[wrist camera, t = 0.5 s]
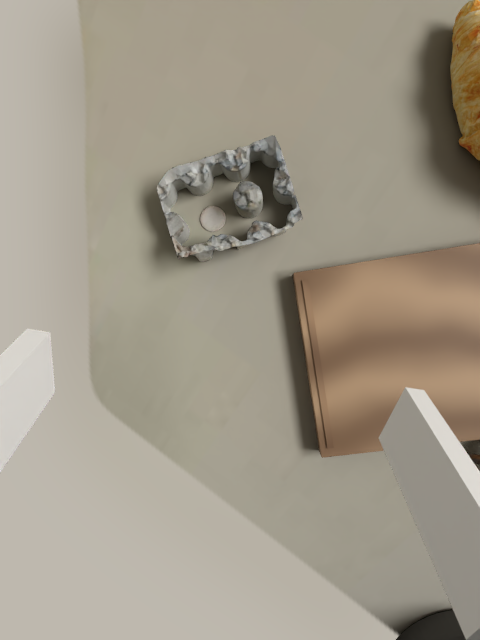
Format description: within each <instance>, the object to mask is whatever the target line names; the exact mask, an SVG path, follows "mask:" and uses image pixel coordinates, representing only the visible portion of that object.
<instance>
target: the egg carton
mask: <svg viewBox="0 0 480 640" xmlns="http://www.w3.org/2000/svg"><path fill="white" fill-rule="evenodd" d="M257 160H262V162H263V163H264V164H265V165H266V166H267V167H270V168H276V169H275V174H274V180H273V195H274V198H275V199H276V200H277V201H278V202H279V203H281V204H285V205H287V204H291V205H292V207H293V210H292V211H291V212H290V213H289V214H288V216H287V221H286V226H285V227H283V228H281V229H276V227H273V226H272V225H271V224H270V223H268V222H259V221H255V222H253V223H252V226H251V228H250V229H249V231H248V233H247V240H246V241H239V240H238V239H236V238H235V237H234V236H231V235H229V236H227V235H224V234H220V235H219V236H215V235H213V236H212V237H211V238H210V239H209V240H208V241H207V243H200V244H196V245H193V246H188V247H184V246H182V244H183V243H184V242H186V241H187V239H188V238H189V234H190V230H189V227H188V225H187V223H186V222H185V221H184V220H183V218H182V217H181V216H180V215H178V214H177V213H174V212H170V208H171V207H172V206H174V204H175V203H176V201H177V191H179V190H181V189H183V188H188V189H189V191H190V192H191V193H193V194H194V195H198V196H203V195H205V194H207V193H208V192H209V191H210V190H211V189H212V186H213V178H214V177H215V176H218V175H220V174H225V175H226V177H227V178H228V179H229V180H231V181H234V182H239V181H242V180H244V179H246V178H247V177H248V175H249V173H250V164H251V163H252V162H255V161H257ZM157 192H158V195H159V198H160V201H161V205H162V209H163V212H164V215H165V218H166V221H167V225H168V230H169V233H170V236H171V238H172V240H173V244H174V247H175V250H176V253H177V257H178V259H180V258H181V257H188V256H189V255H193V256H196V257H197V258H198V259H199V261H201V262H205V261H208V260H210V259H212V254H213V250H218V251H221V250H225V249H228V248H231V247H234V246H236V247H237V249H238V250H239V249H241V248H243V247H244V246H246V245H248V244H252V243H255V242H258V241H261V240H263V239H265V238H267V237H270V236H272V235H274V236H278V235H281V234H283V233H285V232H286V229H288V228H291V227H293V226H294V223H296V222H297V221H299V220H302V214H301V211H300V208H299V205H298V202H297V199H296V195H295V192H294V189H293V185H292V182H291V179H290V176H289V173H288V170H287V166H286V163H285V160H284V157H283V154H282V151H281V148H280V146H279V143H278V141H277V139H276V137H275V136H273V135H272V136H269V137H267V138H264V139H262V140H259V141H256V142H253V143H252V144H250V145H248V146H245V147H242V148H241V147H238V148H237V149H236V150H224V151H222V152H220V153H218V154H216V155H213V156H210V157H206V158H203V159H201V160H199V161H195V162H191V163H187V164H183V165H179V166H176V167H174V168H172V169H170V170H168V172H167V173H166V174H165V175H164V176H163V178H162V179H161V181H160V182H159V184H158V186H157ZM233 200H234V203H235V206H236V209H237V211H238V213H239V214H240V215H241V216H243V217H245V218H254V217H256V216H257V215H259V214H260V212H261V211H262V208H263V196H262V192H261V189H260V187H258V186H257V185H256V184H255V183H253V182H249V181H242V182H240V183H239V185H238V186H237V188H236V189H235V191H234V193H233ZM225 221H226V216H225V213H224V211H223V210H222V209H221V208H219V207H217V206H209V207H206V208H205V209H204V210H203V211H202V213H201V216H200V223H201V225H202V227H203V228H204V229H206V230H207V231H210V232H215V231H218V230H220V229H221V228H222V227H223V226H224V224H225Z"/></svg>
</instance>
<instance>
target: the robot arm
mask: <svg viewBox="0 0 480 640" xmlns="http://www.w3.org/2000/svg"><path fill="white" fill-rule="evenodd" d="M54 393H55V385H54V372H53V361H52V349H51V336H50V332H46V331H40V330H33V329H26V330H25V331H24V332H23V333H22V334H21V335H20V336H19V337H18V338H17V339H16V340H15V341H14V342H13V343H12V344H11V345H10V346H9V347H8V348H7V349H6V350H5V351H4V352H3V353H2V354H1V355H0V472H1V471H2V469H3V468H4V466H5V465H6V463H7V462H8V460H9V459H10V458H11V456H12V455H13V453H14V452H15V450H16V449H17V447H18V446H19V444H20V443H21V441H22V440H23V439H24V437H25V436H26V434H27V433H28V431H29V430H30V428H31V427H32V425H33V424H34V423H35V421H36V420H37V418H38V417H39V415H40V414H41V412H42V411H43V409H44V408H45V406H46V405H47V404H48V402H49V401H50V399H51V398H52V396H53V395H54ZM379 440H380V443H381V445H382V447H383V450H384V452H385V454H386V457H387V459H388V461H389V463H390V466H391V468H392V470H393V473H394V475H395V477H396V480H397V482H398V484H399V486H400V489H401V491H402V493H403V496H404V498H405V500H406V503H407V505H408V507H409V509H410V512H411V514H412V516H413V519H414V521H415V523H416V526H417V528H418V530H419V533H420V535H421V537H422V539H423V542H424V544H425V546H426V549H427V551H428V553H429V556H430V558H431V560H432V562H433V565H434V567H435V569H436V572H437V574H438V576H439V579H440V581H441V583H442V585H443V588H444V590H445V592H446V595H447V597H448V599H449V602H450V604H451V606H452V609H453V610H451V611H445V612H441V613H437V614H434V615H431V616H428V617H426V618H424V619H422V620H420V621H418V622H416V623H415V624H413V625H412V626H410V627H409V628H408V629H406V630H405V631H404V632H403V633H402V634H401V635H400V636H399V637H398V638H397V639H396V640H480V471H479V470H478V468H477V467H476V465H475V464H474V463H473V461H472V460H471V458H470V457H469V455H468V454H467V452H466V451H465V449H464V448H463V446H462V445H461V443H460V442H459V441H458V439H457V438H456V436H455V435H454V433H453V432H452V430H451V429H450V427H449V426H448V424H447V423H446V421H445V420H444V419H443V417H442V416H441V414H440V413H439V411H438V410H437V408H436V407H435V405H434V404H433V402H432V401H431V399H430V398H429V396H428V395H427V394H426V392H425V391H424V390H420V389H414V388H407V387H405V389H404V391H403V392H402V394H401V396H400V398H399V400H398V402H397V404H396V406H395V408H394V409H393V411H392V413H391V415H390V417H389V419H388V421H387V423H386V425H385V426H384V428H383V430H382V432H381V434H380V436H379Z"/></svg>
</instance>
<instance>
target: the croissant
mask: <svg viewBox="0 0 480 640" xmlns="http://www.w3.org/2000/svg"><path fill="white" fill-rule="evenodd" d="M452 42H453V51H452V60H451V65H450V73H451V81H452V85H451V88H452V95H453V107H454V109H455V111H456V115H457V120H458V124H459V127H460V131H461V133H462V135H463V136H462V137H461V138H460V139H459V144H460V146H462V147H464V148H465V149H467V150H468V151H469V152H470V153H471V154H472V155H473V156H474V157H475V158H476V159H477V160H479V161H480V1H479V0H473V1H469V2H468V3H467V4H465V5H464V6H463V7H462V9H461V10H460V12H459V13H458V15H457V17H456V20H455V24H454V26H453V36H452Z"/></svg>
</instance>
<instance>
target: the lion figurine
mask: <svg viewBox="0 0 480 640" xmlns="http://www.w3.org/2000/svg"><path fill="white" fill-rule="evenodd" d="M469 457H470V458H471V460H472V461H473V463H477V464H480V455H476V454H470V455H469Z"/></svg>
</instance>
